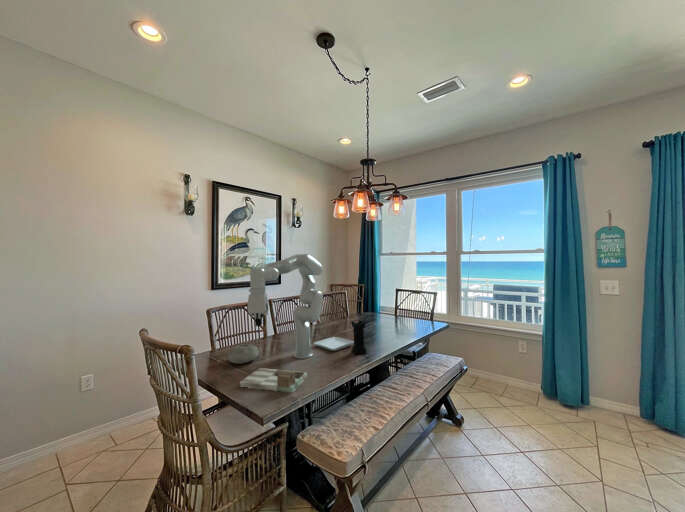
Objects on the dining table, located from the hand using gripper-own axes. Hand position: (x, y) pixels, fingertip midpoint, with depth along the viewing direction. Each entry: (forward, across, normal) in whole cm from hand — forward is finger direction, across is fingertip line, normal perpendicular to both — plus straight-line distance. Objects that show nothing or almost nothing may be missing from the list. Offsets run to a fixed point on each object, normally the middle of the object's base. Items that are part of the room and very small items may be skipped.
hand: (258, 325), depth 150 cm
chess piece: (+27, +44, +47) cm, 70 cm away
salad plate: (+28, +24, +57) cm, 68 cm away
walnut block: (+25, +21, -10) cm, 34 cm away
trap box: (+27, +11, -4) cm, 30 cm away
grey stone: (+27, -22, +18) cm, 39 cm away
